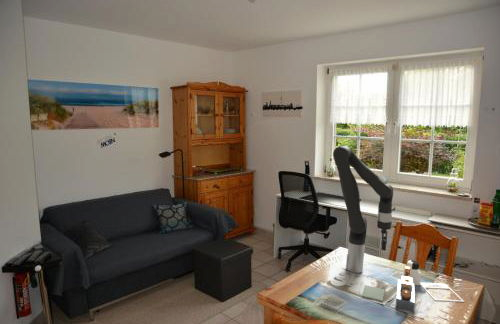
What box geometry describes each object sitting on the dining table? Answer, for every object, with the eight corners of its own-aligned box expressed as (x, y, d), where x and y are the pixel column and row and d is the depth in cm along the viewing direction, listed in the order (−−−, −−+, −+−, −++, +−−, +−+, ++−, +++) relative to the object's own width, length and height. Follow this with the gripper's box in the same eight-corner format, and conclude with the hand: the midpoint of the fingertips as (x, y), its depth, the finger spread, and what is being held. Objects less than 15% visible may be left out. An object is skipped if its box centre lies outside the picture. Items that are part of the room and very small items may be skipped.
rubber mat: (361, 296, 176) (362, 295, 176) (364, 286, 187) (364, 284, 187) (382, 301, 172) (382, 300, 172) (384, 290, 183) (384, 289, 183)
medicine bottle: (415, 279, 197) (417, 259, 195) (420, 285, 190) (422, 265, 188) (402, 278, 198) (404, 258, 196) (407, 284, 191) (409, 264, 189)
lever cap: (411, 292, 171) (412, 283, 170) (400, 290, 173) (401, 281, 172) (411, 285, 178) (412, 276, 177) (400, 283, 180) (401, 274, 179)
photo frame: (445, 283, 192) (464, 300, 174) (445, 285, 192) (464, 302, 174) (419, 282, 192) (434, 299, 175) (418, 283, 193) (434, 301, 175)
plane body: (413, 312, 164) (416, 286, 162) (395, 308, 167) (398, 282, 165) (413, 291, 183) (416, 268, 181) (397, 287, 187) (399, 265, 185)
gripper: (377, 215, 202) (376, 242, 204) (377, 222, 188) (376, 251, 191) (390, 216, 199) (389, 243, 201) (392, 224, 186) (391, 252, 188)
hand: (383, 247), depth 196 cm, fingers open, 8 cm apart
